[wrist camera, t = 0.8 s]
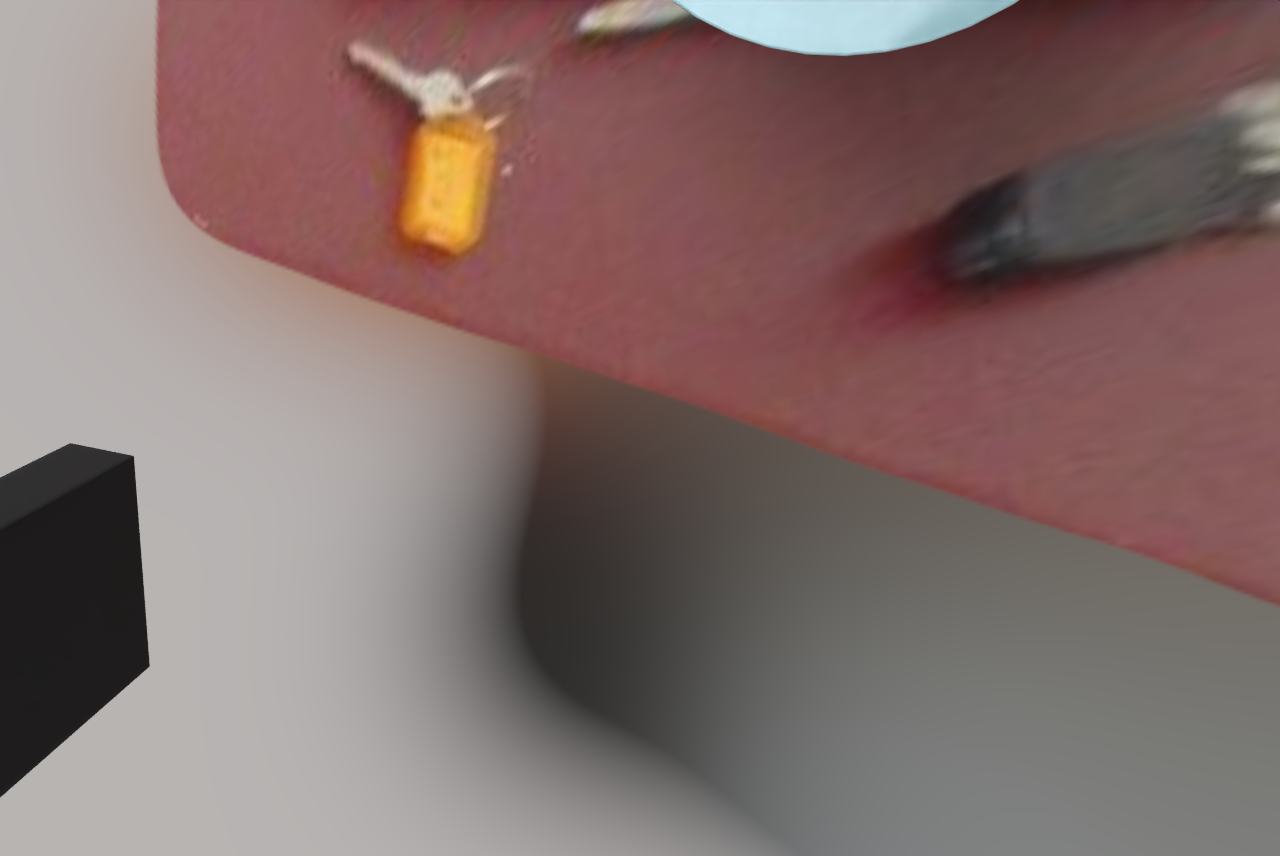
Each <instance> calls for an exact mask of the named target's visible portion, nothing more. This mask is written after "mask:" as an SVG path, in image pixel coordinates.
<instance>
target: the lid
mask: <svg viewBox="0 0 1280 856" xmlns="http://www.w3.org/2000/svg"><path fill="white" fill-rule="evenodd" d="M672 1H673V2H675V3H676V4H677V5H679V6H680V7H682V8H683V9H685V10H686V11H687V12H689V13H690V14H692V15H693V16H695V17H696V18H698V19H700V20H702V21H704V22H706V23H708V24H710V25H712V26H714V27H716V28H718V29H720V30H722V31H724V32H726V33H728V34H730V35H732V36H735V37H738V38H741V39H744V40H747V41H750V42H753V43H756V44H759V45H762V46H765V47H768V48H774V49H779V50H785V51H790V52H795V53H801V54H809V55H833V56H851V55H861V54H872V53H882V52H889V51H893V50H898V49H902V48H906V47H911V46H915V45H919V44H923V43H928V42H931V41H933V40H936V39H939V38H941V37H944V36H947V35H949V34H952V33H955V32H958V31H960V30H963V29H966V28H968V27H971V26H973V25H975V24H977V23H979V22H980V21H982V20H984V19H986V18H988V17H990V16H992V15H994V14H996V13H998V12H1000V11H1002V10H1004V9H1006V8H1008V7H1009V6H1011V5H1013V4H1015V3H1016V2H1018V1H1019V0H672Z"/></svg>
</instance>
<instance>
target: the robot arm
mask: <svg viewBox="0 0 1280 856" xmlns="http://www.w3.org/2000/svg"><path fill="white" fill-rule="evenodd" d="M148 667H149V652H148V640H147V626H146V613H145V600H144V586H143V573H142V559H141V547H140V533H139V520H138V506H137V494H136V480H135V466H134V456H131V455H126V454H121V453H116V452H111V451H106V450H101V449H96V448H91V447H86V446H81V445H76V444H71V443H70V444H68V445H66V446H64V447H62V448H60V449H58V450H56V451H54V452H52V453H49V454H47V455H45V456H43V457H41V458H39V459H37V460H35V461H33V462H31V463H29V464H27V465H25V466H23V467H21V468H19V469H17V470H15V471H13V472H11V473H9V474H7V475H5V476H3V477H1V478H0V797H1V796H2V795H3V794H5V793H6V792H7V791H8V790H9V789H10V788H11V787H13V786H14V785H15V784H16V783H17V782H18V781H19V780H21V779H22V778H23V777H24V776H25V775H26V774H27V773H29V772H30V771H31V770H32V769H33V768H34V767H35V766H37V765H38V764H39V763H40V762H41V761H42V760H43V759H45V758H46V757H47V756H48V755H49V754H50V753H51V752H52V751H54V749H56V748H57V747H58V746H59V745H60V744H62V742H64V741H65V740H66V739H67V738H68V737H69V736H71V735H72V734H73V733H74V732H75V731H76V730H78V728H80V727H81V726H82V725H83V724H84V723H85V722H87V721H88V720H89V719H90V718H91V717H92V716H94V715H95V714H96V713H97V712H98V711H99V710H100V709H102V708H103V707H104V706H105V705H106V704H107V703H108V702H109V701H111V700H112V699H113V698H114V697H115V696H116V695H117V694H119V693H120V692H121V691H122V690H123V689H124V688H125V687H126V686H128V685H129V684H130V683H131V682H132V681H133V680H134V679H136V678H137V677H138V676H139V675H140V674H141V673H143V672H144V671H145V670H146V669H147V668H148Z"/></svg>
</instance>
